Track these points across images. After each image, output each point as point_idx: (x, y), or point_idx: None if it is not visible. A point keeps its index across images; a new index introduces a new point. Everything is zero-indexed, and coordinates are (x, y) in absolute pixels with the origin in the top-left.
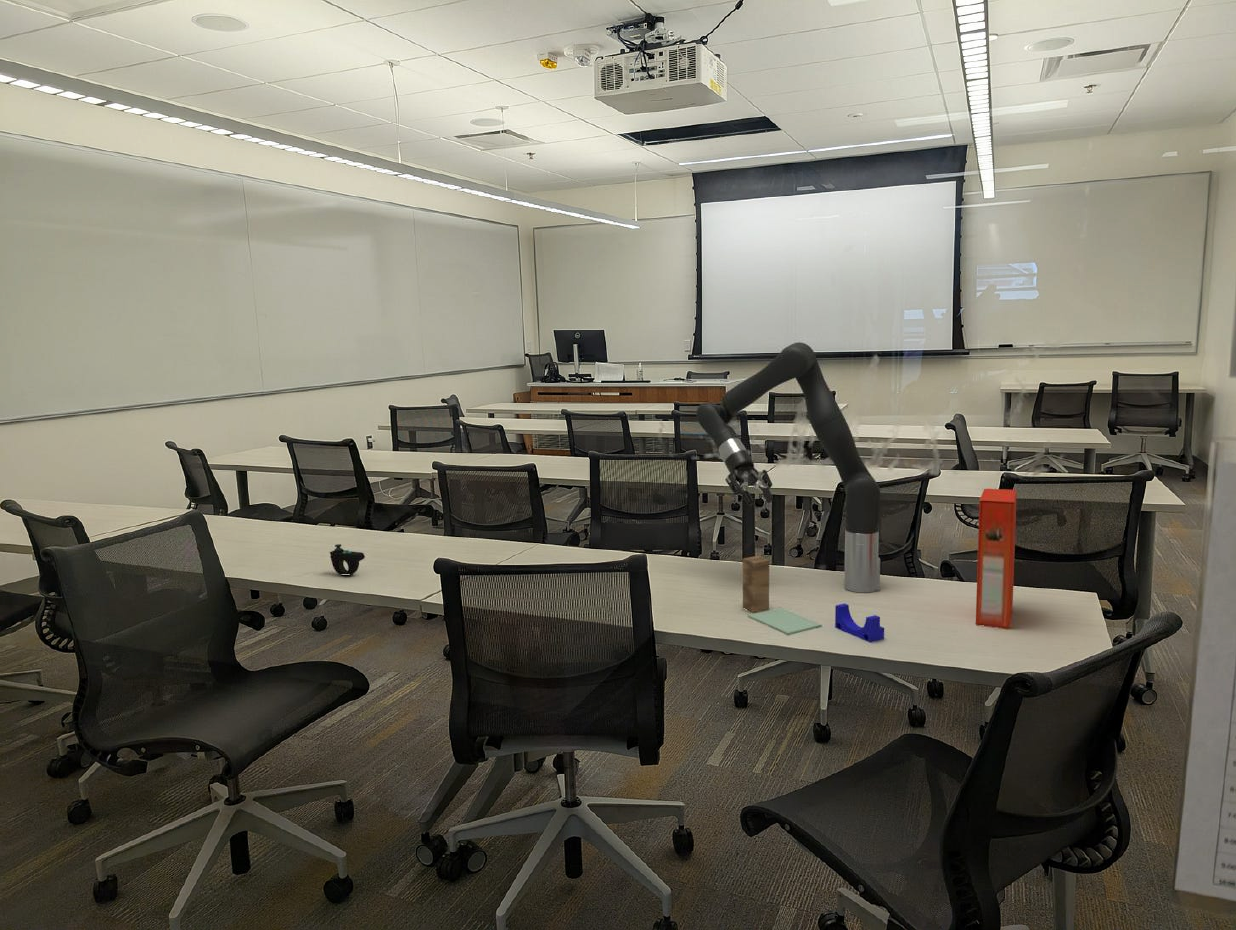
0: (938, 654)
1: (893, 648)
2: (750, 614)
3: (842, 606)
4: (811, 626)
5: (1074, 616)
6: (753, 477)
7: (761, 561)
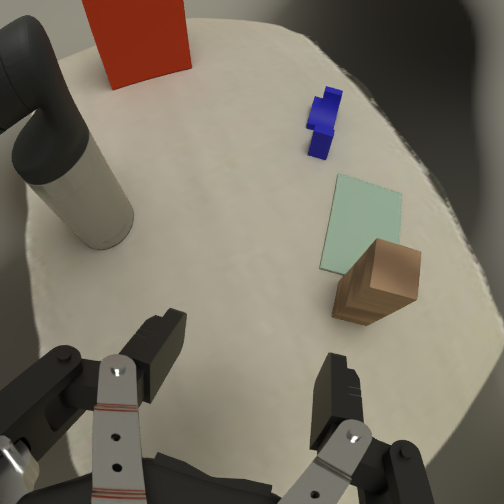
0: (309, 66)
1: None
2: None
3: (328, 128)
4: (356, 180)
5: None
6: (152, 500)
7: (400, 245)
